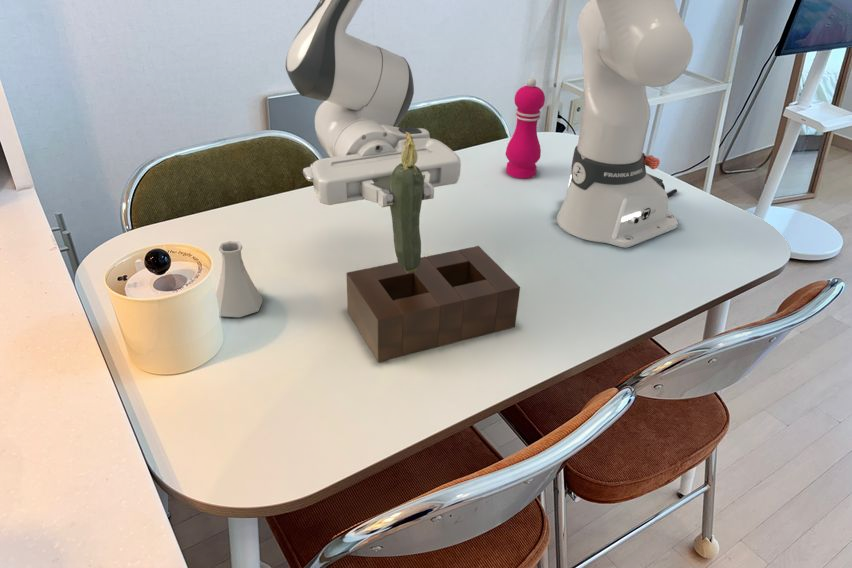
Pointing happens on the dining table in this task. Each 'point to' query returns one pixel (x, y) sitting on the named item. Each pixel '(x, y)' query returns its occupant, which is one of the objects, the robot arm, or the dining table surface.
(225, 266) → the flask
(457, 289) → the holder
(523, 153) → the pepper mill
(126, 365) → the dining table surface
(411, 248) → the vegetable
